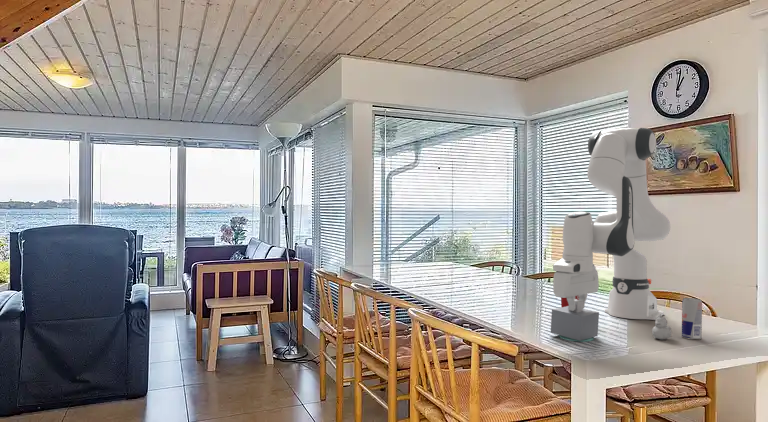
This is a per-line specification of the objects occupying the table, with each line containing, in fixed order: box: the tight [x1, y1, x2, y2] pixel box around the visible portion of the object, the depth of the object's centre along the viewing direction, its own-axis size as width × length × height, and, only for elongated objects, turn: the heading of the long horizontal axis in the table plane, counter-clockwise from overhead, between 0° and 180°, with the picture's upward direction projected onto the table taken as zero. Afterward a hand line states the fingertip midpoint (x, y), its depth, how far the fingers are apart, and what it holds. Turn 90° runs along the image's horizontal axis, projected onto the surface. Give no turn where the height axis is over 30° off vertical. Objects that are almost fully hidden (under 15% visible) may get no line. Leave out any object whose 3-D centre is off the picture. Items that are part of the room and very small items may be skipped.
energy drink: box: [681, 297, 703, 340], centre depth 165 cm, size 5×5×12 cm
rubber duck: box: [651, 314, 672, 341], centre depth 163 cm, size 5×7×8 cm
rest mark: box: [558, 335, 595, 343], centre depth 163 cm, size 10×10×1 cm
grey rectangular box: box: [550, 299, 600, 342], centre depth 164 cm, size 10×10×10 cm
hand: (576, 309), depth 163 cm, fingers closed on grey rectangular box, 3 cm apart
